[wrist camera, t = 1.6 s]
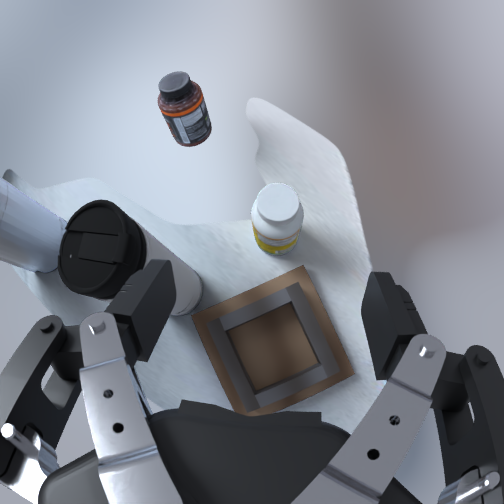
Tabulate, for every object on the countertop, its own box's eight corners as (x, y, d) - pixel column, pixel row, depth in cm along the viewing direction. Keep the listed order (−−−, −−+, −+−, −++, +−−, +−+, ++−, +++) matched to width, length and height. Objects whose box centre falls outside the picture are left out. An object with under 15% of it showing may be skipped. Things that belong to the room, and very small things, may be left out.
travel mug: (201, 320, 33) (117, 304, 14) (151, 310, 34) (39, 283, 15) (209, 269, 35) (142, 196, 16) (160, 262, 36) (63, 193, 16)
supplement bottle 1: (170, 127, 41) (147, 77, 31) (206, 113, 42) (190, 60, 31) (179, 154, 40) (154, 103, 29) (217, 139, 40) (202, 84, 29)
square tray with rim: (242, 421, 30) (239, 432, 26) (194, 316, 34) (184, 314, 30) (351, 372, 31) (361, 376, 27) (302, 267, 34) (305, 259, 31)
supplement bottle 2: (287, 263, 35) (293, 238, 25) (247, 245, 36) (238, 215, 26) (304, 224, 36) (315, 189, 27) (265, 208, 37) (263, 168, 27)
